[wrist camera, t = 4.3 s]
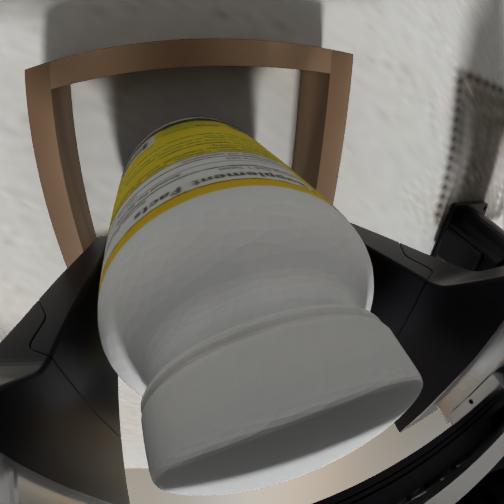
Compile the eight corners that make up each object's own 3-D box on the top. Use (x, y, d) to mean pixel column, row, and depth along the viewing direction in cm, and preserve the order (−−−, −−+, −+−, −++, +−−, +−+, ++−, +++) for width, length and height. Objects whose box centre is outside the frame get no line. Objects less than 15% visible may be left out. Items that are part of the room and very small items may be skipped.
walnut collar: (322, 52, 11) (353, 54, 9) (296, 261, 18) (314, 288, 16) (47, 67, 8) (24, 70, 6) (96, 293, 15) (92, 326, 13)
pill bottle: (255, 239, 15) (370, 451, 7) (130, 250, 13) (148, 509, 5) (271, 115, 12) (518, 291, 3) (118, 117, 10) (-9, 412, 1)
